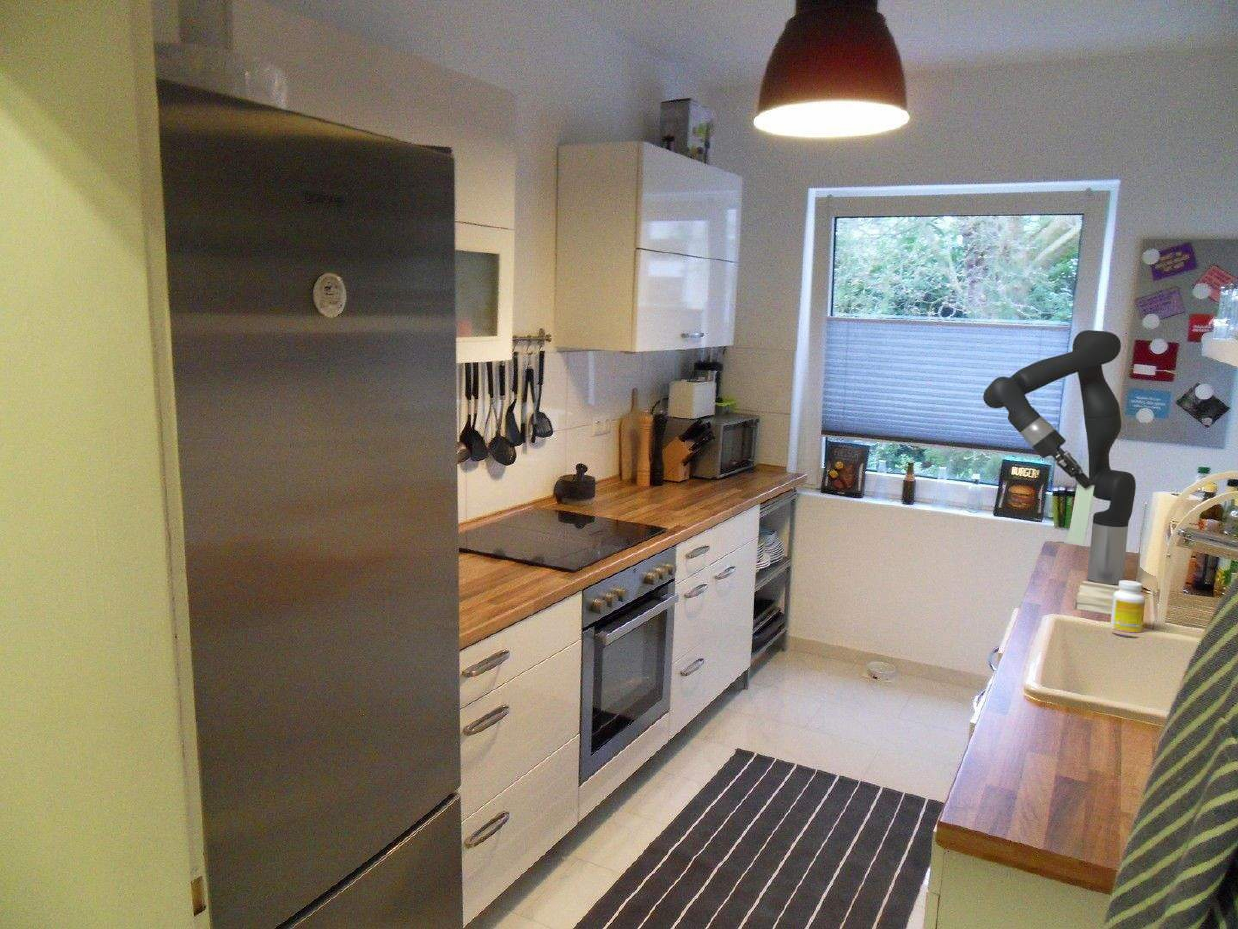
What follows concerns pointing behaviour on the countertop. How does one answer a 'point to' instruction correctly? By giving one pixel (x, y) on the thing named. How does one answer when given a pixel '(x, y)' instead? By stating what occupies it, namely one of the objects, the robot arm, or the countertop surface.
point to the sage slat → (1080, 514)
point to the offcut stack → (1096, 597)
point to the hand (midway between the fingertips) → (1088, 485)
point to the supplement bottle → (1128, 609)
